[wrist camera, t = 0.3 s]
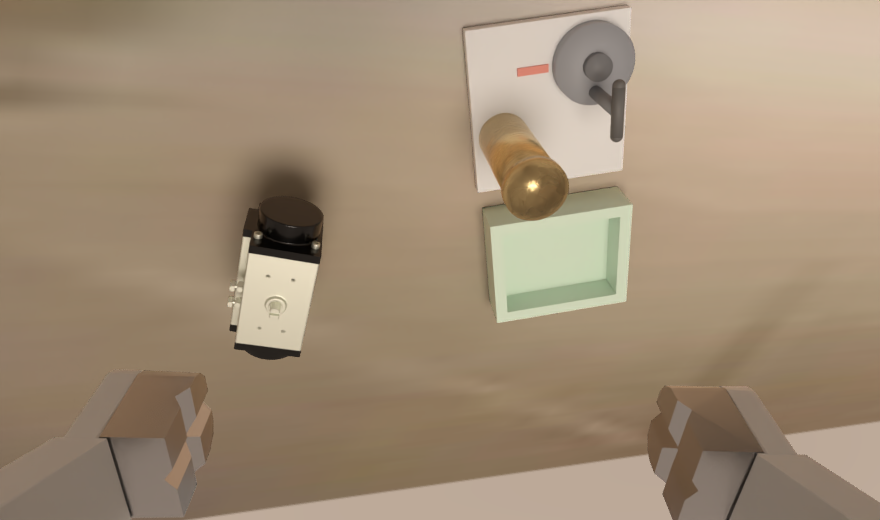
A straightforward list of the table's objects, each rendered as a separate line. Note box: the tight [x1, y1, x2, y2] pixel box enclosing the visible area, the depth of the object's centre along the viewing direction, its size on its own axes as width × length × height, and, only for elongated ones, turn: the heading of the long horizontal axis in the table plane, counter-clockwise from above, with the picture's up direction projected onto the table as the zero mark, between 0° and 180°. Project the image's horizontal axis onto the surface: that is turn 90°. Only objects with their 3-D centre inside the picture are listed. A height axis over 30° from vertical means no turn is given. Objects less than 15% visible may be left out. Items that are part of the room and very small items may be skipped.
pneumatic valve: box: [227, 196, 324, 360], centre depth 47 cm, size 6×12×12 cm, turn 164°
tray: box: [482, 187, 633, 323], centre depth 55 cm, size 10×12×4 cm
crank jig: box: [463, 5, 635, 193], centre depth 46 cm, size 13×12×7 cm
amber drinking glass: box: [479, 113, 569, 221], centre depth 45 cm, size 4×4×10 cm
